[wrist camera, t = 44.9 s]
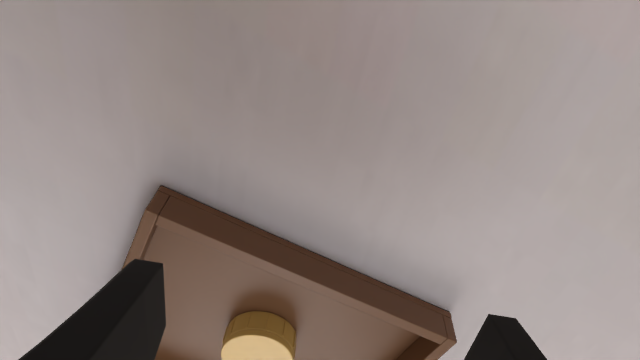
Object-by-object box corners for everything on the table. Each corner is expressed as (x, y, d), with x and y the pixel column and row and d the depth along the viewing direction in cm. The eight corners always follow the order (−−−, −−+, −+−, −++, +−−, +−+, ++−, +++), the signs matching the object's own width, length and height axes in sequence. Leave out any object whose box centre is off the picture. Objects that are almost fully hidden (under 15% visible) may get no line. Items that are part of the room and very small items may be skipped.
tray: (98, 342, 27) (82, 370, 26) (160, 184, 21) (144, 209, 19) (332, 425, 31) (330, 454, 29) (450, 312, 24) (457, 342, 22)
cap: (224, 308, 24) (216, 332, 23) (296, 312, 24) (292, 337, 23) (231, 353, 26) (224, 378, 25) (296, 358, 26) (293, 383, 25)
